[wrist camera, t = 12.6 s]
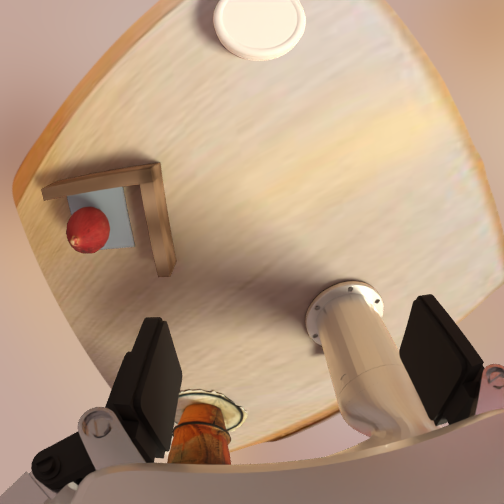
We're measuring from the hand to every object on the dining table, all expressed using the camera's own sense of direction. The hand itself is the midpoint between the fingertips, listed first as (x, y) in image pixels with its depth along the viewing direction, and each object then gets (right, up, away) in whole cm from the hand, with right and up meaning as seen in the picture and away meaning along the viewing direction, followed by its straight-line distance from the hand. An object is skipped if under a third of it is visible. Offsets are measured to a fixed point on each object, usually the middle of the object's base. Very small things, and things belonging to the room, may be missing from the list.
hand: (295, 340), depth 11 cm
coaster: (-1, +30, +17) cm, 34 cm away
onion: (-22, +8, +27) cm, 36 cm away
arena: (-20, +7, +27) cm, 35 cm away
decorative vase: (-12, -31, +46) cm, 57 cm away
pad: (-22, +8, +27) cm, 36 cm away
